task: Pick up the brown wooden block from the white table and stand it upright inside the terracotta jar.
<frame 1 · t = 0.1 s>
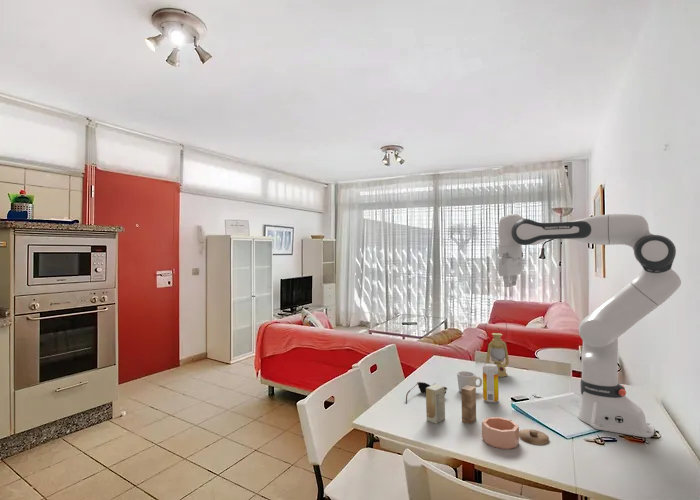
hand: (510, 286, 158), 48 cm above the table, fingers open, 8 cm apart
sunglasses: (425, 401, 159), on the table
jar: (500, 440, 124), on the table
cup: (469, 392, 169), on the table
jar lid: (533, 438, 126), on the table
skincare box: (435, 420, 140), on the table
beer can: (490, 401, 158), on the table
brown wooden block: (469, 420, 139), on the table
lantern: (497, 374, 193), on the table
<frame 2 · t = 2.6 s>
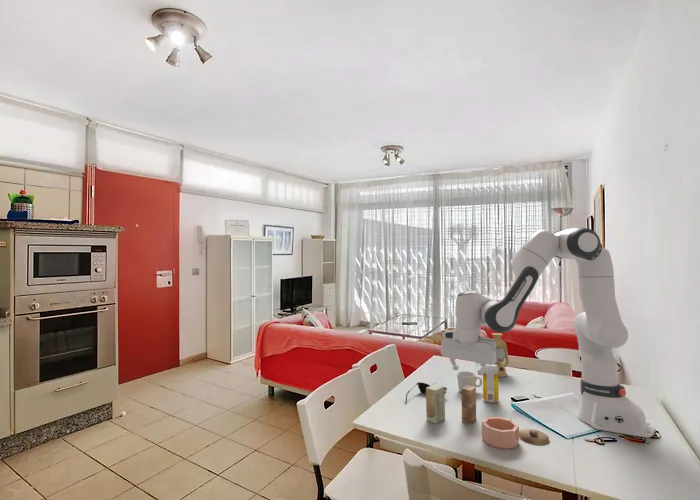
hand: (467, 372, 140), 18 cm above the table, fingers open, 8 cm apart
nothing on the table moved.
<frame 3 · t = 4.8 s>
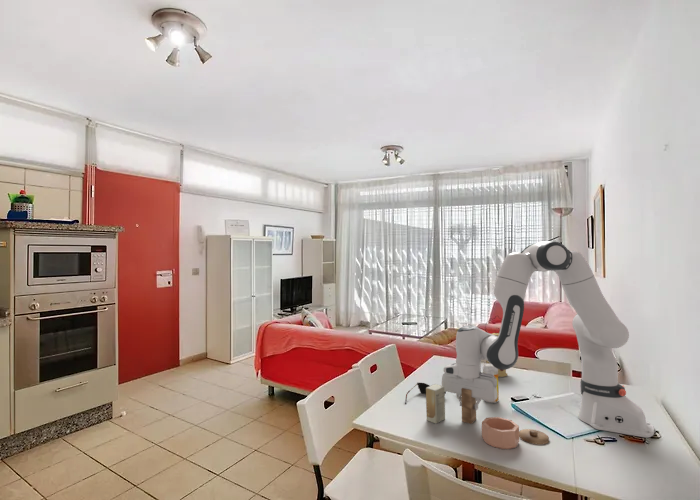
hand: (468, 407, 140), 5 cm above the table, fingers closed on brown wooden block, 3 cm apart
brown wooden block: (469, 420, 139), on the table, touching gripper
everything else where it was.
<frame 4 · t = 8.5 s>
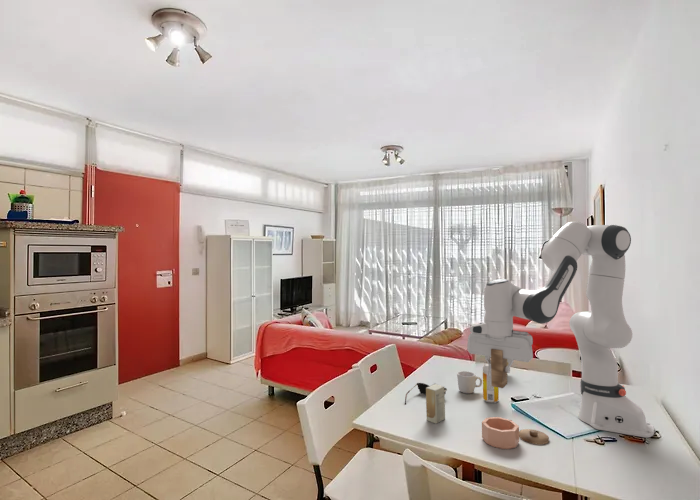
hand: (499, 370, 124), 23 cm above the table, fingers closed on brown wooden block, 3 cm apart
brown wooden block: (499, 385, 124), point 18 cm above the table, touching gripper
everything else where it was.
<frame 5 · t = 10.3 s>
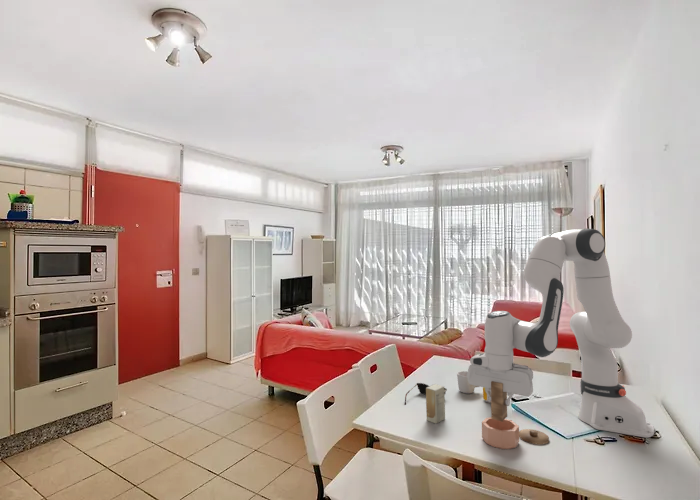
hand: (499, 403, 124), 12 cm above the table, fingers closed on brown wooden block, 3 cm apart
brown wooden block: (499, 417, 124), point 8 cm above the table, touching gripper
when the fingers open (7 cm above the table, at t = 12.1 s): brown wooden block stays where it is, resting on jar.
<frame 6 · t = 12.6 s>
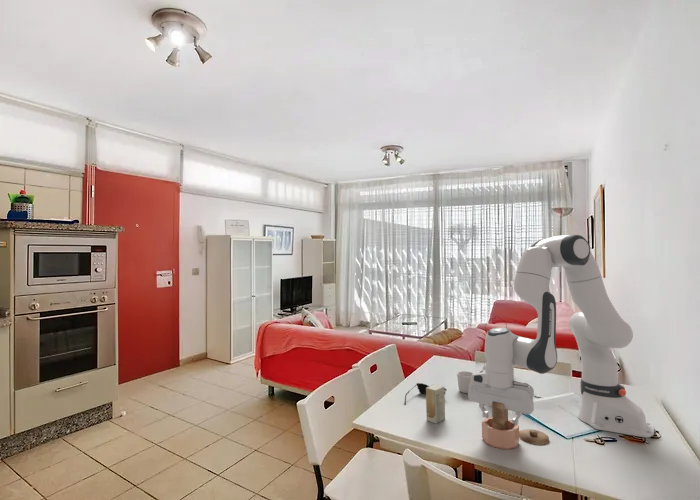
hand: (500, 420, 124), 7 cm above the table, fingers open, 8 cm apart
brown wooden block: (500, 437, 124), point 1 cm above the table, touching jar
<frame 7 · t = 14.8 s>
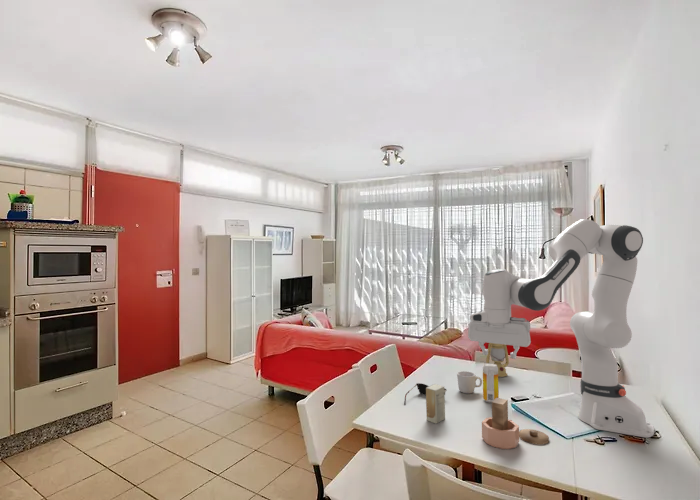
hand: (499, 356, 130), 26 cm above the table, fingers open, 8 cm apart
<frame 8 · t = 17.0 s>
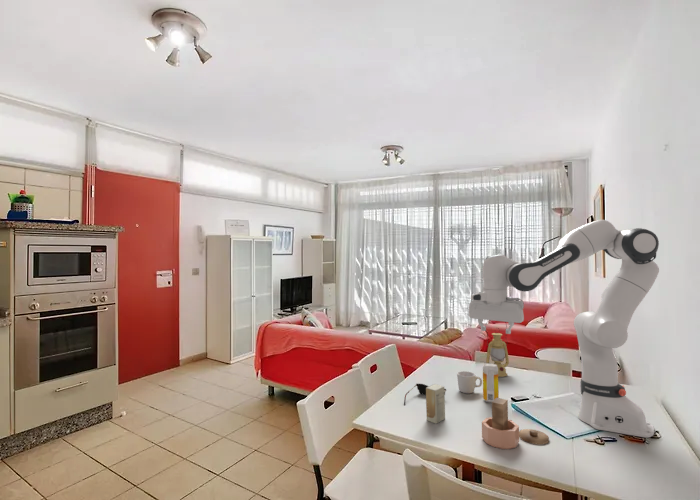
hand: (495, 332, 146), 31 cm above the table, fingers open, 8 cm apart
at the end: brown wooden block 0.0 cm from the jar (horizontally); brown wooden block tilted 0°; the gripper is holding nothing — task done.
